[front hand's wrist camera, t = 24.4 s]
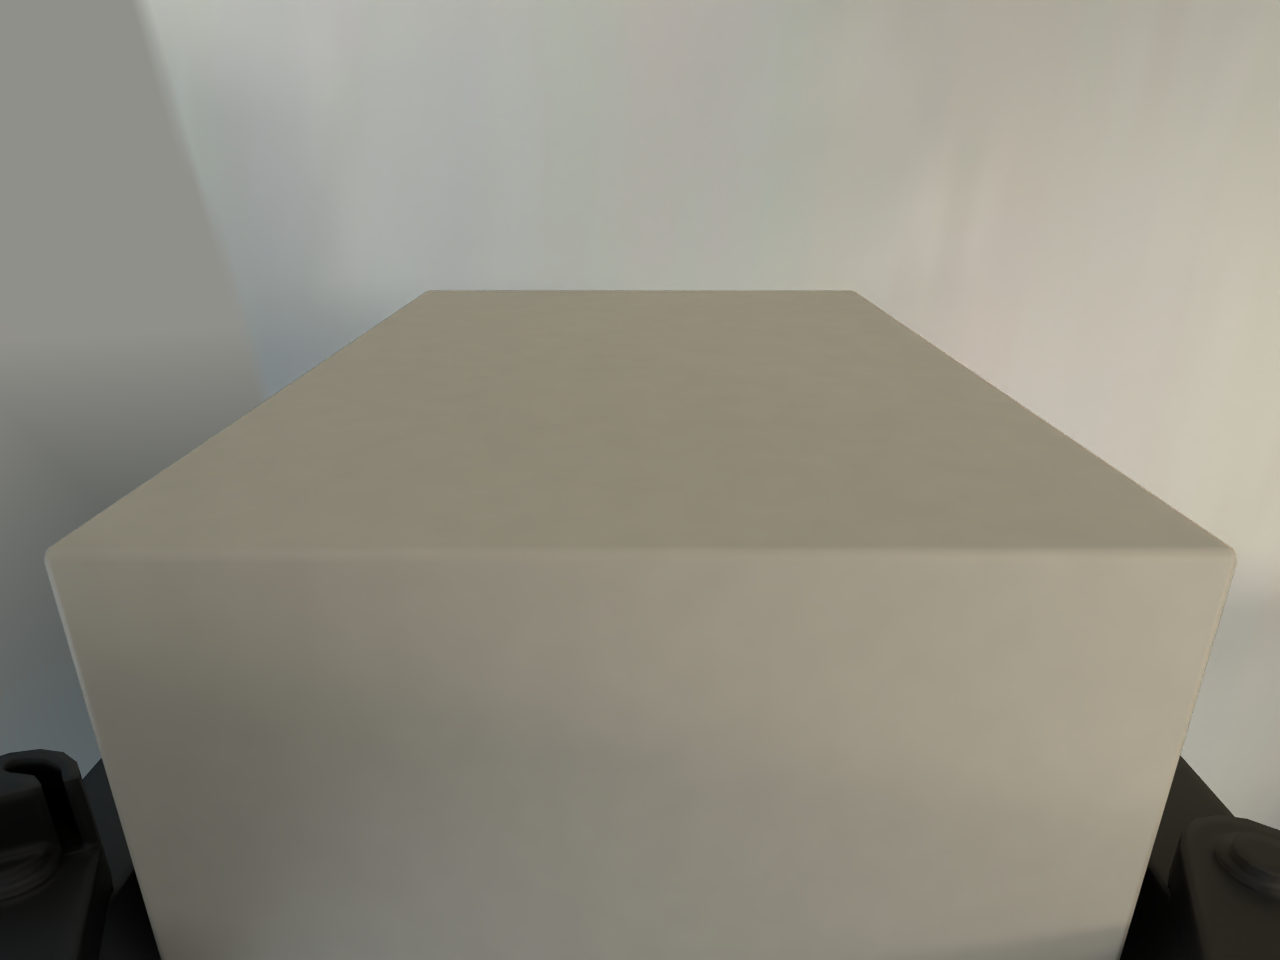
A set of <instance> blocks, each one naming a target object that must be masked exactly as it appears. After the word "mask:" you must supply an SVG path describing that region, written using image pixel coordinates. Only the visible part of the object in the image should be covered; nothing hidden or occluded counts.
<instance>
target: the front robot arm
mask: <svg viewBox="0 0 1280 960" xmlns="http://www.w3.org/2000/svg"><path fill="white" fill-rule="evenodd" d="M0 960H161V957H160V954H159V951H158V947H157V944H156V940H155V937H154V934H153V930H152V927H151V923H150V920H149V917H148V913H147V910H146V906H145V903H144V900H143V896H142V893H141V889H140V886H139V883H138V879H137V876H136V872H135V869H134V866H133V862H132V859H131V855H130V852H129V849H128V845H127V842H126V838H125V835H124V832H123V828H122V825H121V821H120V818H119V815H118V811H117V808H116V804H115V801H114V798H113V794H112V791H111V787H110V784H109V781H108V777H107V774H106V770H105V767H104V764H103V760H102V758H101V759H100V760H99V761H98V763H97V764H96V765H95V766H94V767H93V768H92V769H91V771H90V772H89V773H88V774H87V775H86V776H85V777H84V779H83V780H82V777H81V774H80V771H79V767H78V764H77V762H76V761H75V760H73V759H72V758H71V757H69V756H68V755H66V754H65V753H64V752H58V751H50V750H43V749H37V750H29V751H21V752H14V753H8V754H5V755H2V756H0ZM1120 960H1280V831H1279V830H1277V829H1274V828H1271V827H1268V826H1266V825H1263V824H1260V823H1257V822H1254V821H1251V820H1249V819H1244V818H1237V817H1234V816H1233V814H1232V813H1231V812H1230V811H1229V810H1228V809H1227V808H1226V806H1225V805H1224V804H1223V803H1222V802H1221V801H1220V800H1219V799H1218V797H1217V796H1216V795H1215V794H1214V793H1213V792H1212V791H1211V790H1210V788H1209V787H1208V786H1207V785H1206V784H1205V783H1204V782H1203V780H1202V779H1201V778H1200V777H1199V776H1198V775H1197V774H1196V773H1195V771H1194V770H1193V769H1192V768H1191V767H1190V766H1189V765H1188V763H1187V762H1186V761H1185V760H1184V759H1183V758H1182V757H1181V756H1180V757H1179V760H1178V764H1177V767H1176V770H1175V774H1174V777H1173V781H1172V784H1171V787H1170V791H1169V794H1168V798H1167V801H1166V804H1165V808H1164V811H1163V815H1162V818H1161V821H1160V825H1159V828H1158V831H1157V835H1156V838H1155V842H1154V845H1153V848H1152V852H1151V855H1150V859H1149V862H1148V865H1147V869H1146V872H1145V875H1144V879H1143V882H1142V886H1141V889H1140V892H1139V896H1138V899H1137V903H1136V906H1135V909H1134V913H1133V916H1132V920H1131V923H1130V926H1129V930H1128V933H1127V936H1126V940H1125V943H1124V947H1123V950H1122V953H1121V957H1120Z"/></svg>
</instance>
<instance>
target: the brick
mask: <svg viewBox="0 0 1280 960" xmlns="http://www.w3.org/2000/svg"><path fill="white" fill-rule="evenodd" d="M44 563H45V567H46V570H47V573H48V577H49V580H50V584H51V587H52V590H53V594H54V597H55V601H56V604H57V607H58V611H59V614H60V618H61V621H62V624H63V628H64V631H65V635H66V638H67V641H68V645H69V648H70V652H71V655H72V658H73V662H74V665H75V669H76V672H77V675H78V679H79V682H80V686H81V689H82V692H83V696H84V699H85V702H86V706H87V709H88V713H89V716H90V719H91V723H92V726H93V730H94V733H95V736H96V740H97V743H98V747H99V750H100V753H101V757H102V760H103V764H104V767H105V770H106V774H107V777H108V781H109V784H110V787H111V791H112V794H113V798H114V801H115V804H116V808H117V811H118V815H119V818H120V821H121V825H122V828H123V832H124V835H125V838H126V842H127V845H128V849H129V852H130V855H131V859H132V862H133V866H134V869H135V872H136V876H137V879H138V883H139V886H140V889H141V893H142V896H143V900H144V903H145V906H146V910H147V913H148V917H149V920H150V923H151V927H152V930H153V934H154V937H155V940H156V944H157V947H158V951H159V954H160V957H161V960H1120V957H1121V953H1122V950H1123V947H1124V943H1125V940H1126V936H1127V933H1128V930H1129V926H1130V923H1131V920H1132V916H1133V913H1134V909H1135V906H1136V903H1137V899H1138V896H1139V892H1140V889H1141V886H1142V882H1143V879H1144V875H1145V872H1146V869H1147V865H1148V862H1149V859H1150V855H1151V852H1152V848H1153V845H1154V842H1155V838H1156V835H1157V831H1158V828H1159V825H1160V821H1161V818H1162V815H1163V811H1164V808H1165V804H1166V801H1167V798H1168V794H1169V791H1170V787H1171V784H1172V781H1173V777H1174V774H1175V770H1176V767H1177V764H1178V760H1179V757H1180V754H1181V750H1182V747H1183V743H1184V740H1185V737H1186V733H1187V730H1188V726H1189V723H1190V720H1191V716H1192V713H1193V709H1194V706H1195V703H1196V699H1197V696H1198V693H1199V689H1200V686H1201V682H1202V679H1203V676H1204V672H1205V669H1206V665H1207V662H1208V659H1209V655H1210V652H1211V649H1212V645H1213V642H1214V638H1215V635H1216V632H1217V628H1218V625H1219V621H1220V618H1221V615H1222V611H1223V608H1224V604H1225V601H1226V598H1227V594H1228V591H1229V588H1230V584H1231V581H1232V577H1233V574H1234V571H1235V567H1236V564H1237V557H1236V553H1235V551H1234V549H1233V548H1231V547H1230V546H1229V545H1227V544H1226V543H1224V542H1223V541H1221V540H1220V539H1218V538H1217V537H1215V536H1214V535H1212V534H1211V533H1209V532H1208V531H1206V530H1205V529H1203V528H1202V527H1201V526H1199V525H1198V524H1196V523H1195V522H1193V521H1192V520H1190V519H1189V518H1187V517H1186V516H1184V515H1183V514H1181V513H1180V512H1178V511H1177V510H1176V509H1174V508H1173V507H1171V506H1170V505H1168V504H1167V503H1165V502H1164V501H1162V500H1161V499H1159V498H1158V497H1156V496H1155V495H1153V494H1152V493H1150V492H1149V491H1148V490H1146V489H1145V488H1143V487H1142V486H1140V485H1139V484H1137V483H1136V482H1134V481H1133V480H1131V479H1130V478H1128V477H1127V476H1125V475H1124V474H1123V473H1121V472H1120V471H1118V470H1117V469H1115V468H1114V467H1112V466H1111V465H1109V464H1108V463H1106V462H1105V461H1103V460H1102V459H1100V458H1099V457H1097V456H1096V455H1095V454H1093V453H1092V452H1090V451H1089V450H1087V449H1086V448H1084V447H1083V446H1081V445H1080V444H1078V443H1077V442H1075V441H1074V440H1072V439H1071V438H1070V437H1068V436H1067V435H1065V434H1064V433H1062V432H1061V431H1059V430H1058V429H1056V428H1055V427H1053V426H1052V425H1050V424H1049V423H1047V422H1046V421H1045V420H1043V419H1042V418H1040V417H1039V416H1037V415H1036V414H1034V413H1033V412H1031V411H1030V410H1028V409H1027V408H1025V407H1024V406H1022V405H1021V404H1019V403H1018V402H1017V401H1015V400H1014V399H1012V398H1011V397H1009V396H1008V395H1006V394H1005V393H1003V392H1002V391H1000V390H999V389H997V388H996V387H994V386H993V385H992V384H990V383H989V382H987V381H986V380H984V379H983V378H981V377H980V376H978V375H977V374H975V373H974V372H972V371H971V370H969V369H968V368H966V367H965V366H964V365H962V364H961V363H959V362H958V361H956V360H955V359H953V358H952V357H950V356H949V355H947V354H946V353H944V352H943V351H941V350H940V349H939V348H937V347H936V346H934V345H933V344H931V343H930V342H928V341H927V340H925V339H924V338H922V337H921V336H919V335H918V334H916V333H915V332H913V331H912V330H911V329H909V328H908V327H906V326H905V325H903V324H902V323H900V322H899V321H897V320H896V319H894V318H893V317H891V316H890V315H888V314H887V313H886V312H884V311H883V310H881V309H880V308H878V307H877V306H875V305H874V304H872V303H871V302H869V301H868V300H866V299H865V298H863V297H862V296H861V295H859V294H858V293H856V292H854V291H524V290H523V291H522V290H429V291H427V292H425V293H424V294H422V295H421V296H419V297H418V298H416V299H415V300H413V301H412V302H410V303H409V304H407V305H406V306H404V307H403V308H401V309H400V310H398V311H397V312H395V313H394V314H393V315H391V316H390V317H388V318H387V319H385V320H384V321H382V322H381V323H379V324H378V325H376V326H375V327H373V328H372V329H370V330H369V331H367V332H366V333H364V334H363V335H362V336H360V337H359V338H357V339H356V340H354V341H353V342H351V343H350V344H348V345H347V346H345V347H344V348H342V349H341V350H339V351H338V352H336V353H335V354H333V355H332V356H331V357H329V358H328V359H326V360H325V361H323V362H322V363H320V364H319V365H317V366H316V367H314V368H313V369H311V370H310V371H308V372H307V373H305V374H304V375H303V376H301V377H300V378H298V379H297V380H295V381H294V382H292V383H291V384H289V385H288V386H286V387H285V388H283V389H282V390H280V391H279V392H277V393H276V394H274V395H273V396H272V397H270V398H269V399H267V400H266V401H264V402H263V403H261V404H260V405H258V406H257V407H255V408H254V409H252V410H251V411H249V412H248V413H246V414H245V415H243V416H242V417H241V418H239V419H238V420H236V421H235V422H233V423H232V424H230V425H229V426H227V427H226V428H224V429H223V430H221V431H220V432H218V433H217V434H215V435H214V436H213V437H211V438H210V439H208V440H207V441H205V442H204V443H202V444H201V445H199V446H198V447H196V448H195V449H193V450H192V451H190V452H189V453H187V454H186V455H185V456H183V457H182V458H180V459H179V460H177V461H176V462H174V463H173V464H171V465H170V466H168V467H167V468H165V469H164V470H162V471H161V472H159V473H158V474H156V475H155V476H154V477H152V478H151V479H149V480H148V481H146V482H145V483H143V484H142V485H140V486H139V487H137V488H136V489H134V490H133V491H131V492H130V493H128V494H127V495H125V496H124V497H122V498H121V499H120V500H118V501H117V502H115V503H114V504H112V505H111V506H109V507H108V508H106V509H105V510H103V511H102V512H100V513H99V514H97V515H96V516H94V517H93V518H92V519H90V520H89V521H87V522H86V523H84V524H83V525H81V526H80V527H78V528H77V529H75V530H74V531H72V532H71V533H69V534H68V535H66V536H65V537H63V538H62V539H61V540H59V541H58V542H56V543H55V544H53V545H52V546H50V547H49V548H48V549H47V550H46V552H45V557H44Z"/></svg>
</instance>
